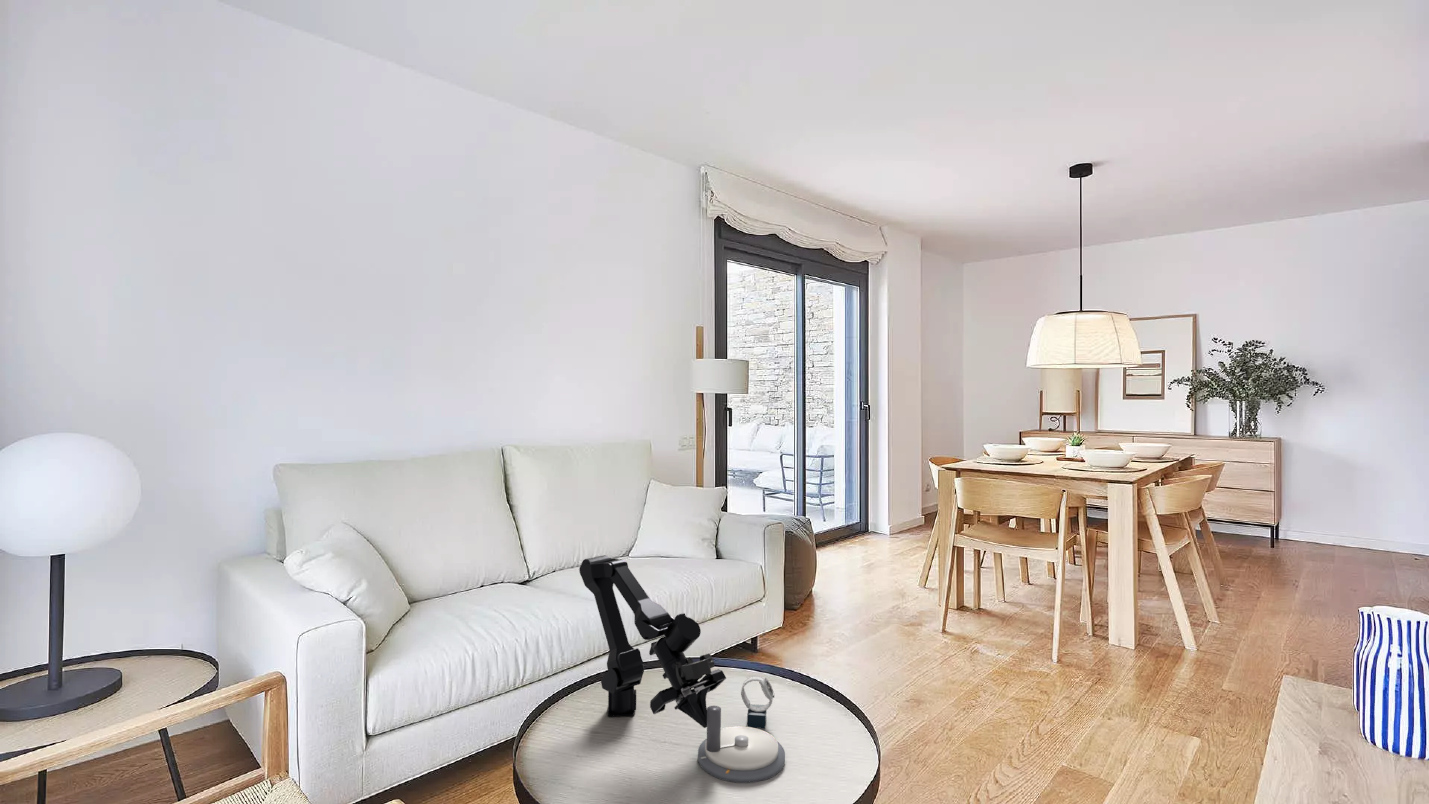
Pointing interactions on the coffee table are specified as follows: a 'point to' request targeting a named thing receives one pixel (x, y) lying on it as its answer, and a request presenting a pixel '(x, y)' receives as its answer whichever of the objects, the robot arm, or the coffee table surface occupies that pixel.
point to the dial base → (741, 775)
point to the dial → (738, 745)
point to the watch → (757, 712)
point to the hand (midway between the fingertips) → (706, 726)
